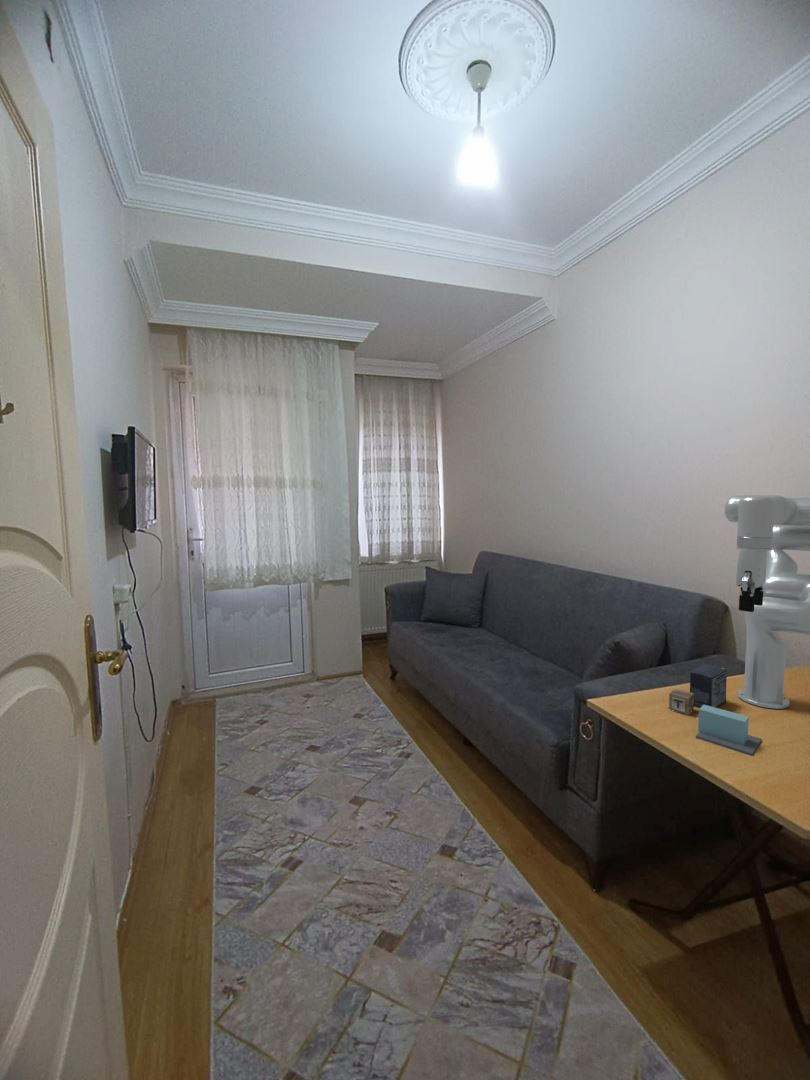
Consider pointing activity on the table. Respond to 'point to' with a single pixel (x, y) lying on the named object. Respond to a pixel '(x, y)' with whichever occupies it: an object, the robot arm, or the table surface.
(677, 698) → the wooden letter block
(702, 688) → the small box
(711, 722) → the teal rectangular block
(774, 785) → the table surface
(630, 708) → the table surface
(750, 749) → the dark gray block
